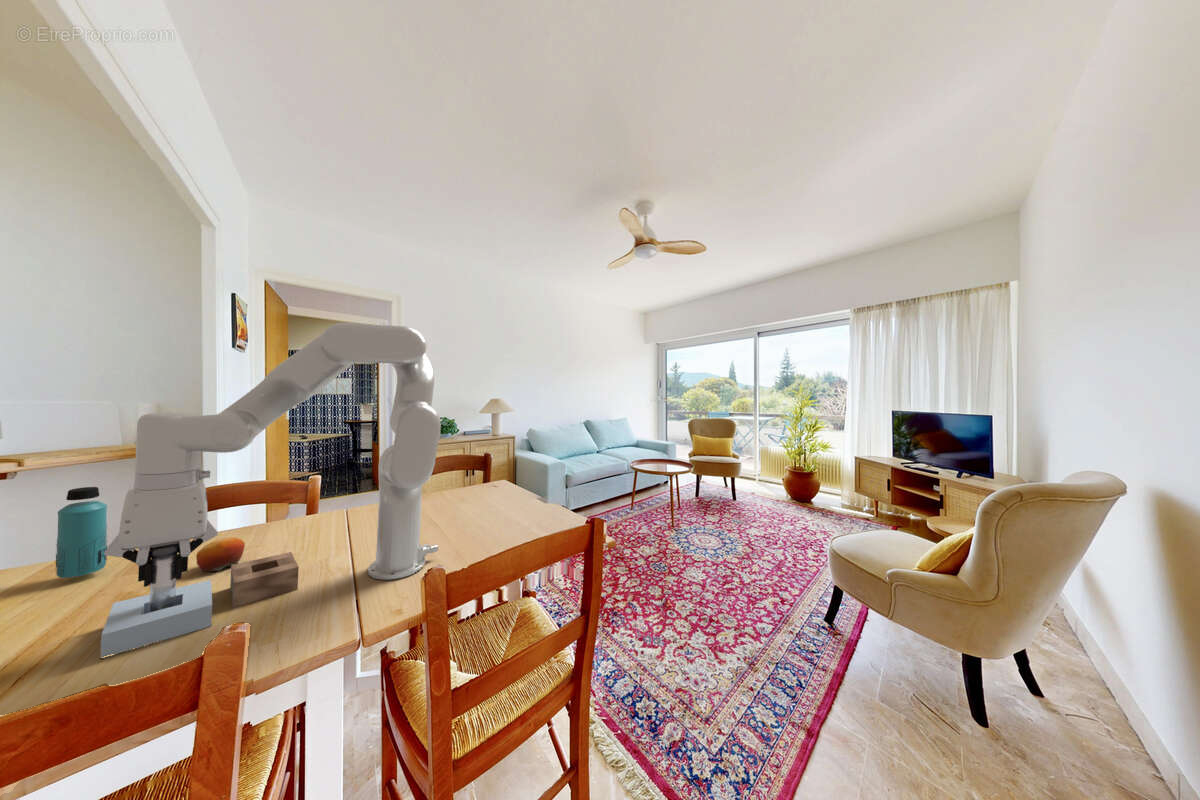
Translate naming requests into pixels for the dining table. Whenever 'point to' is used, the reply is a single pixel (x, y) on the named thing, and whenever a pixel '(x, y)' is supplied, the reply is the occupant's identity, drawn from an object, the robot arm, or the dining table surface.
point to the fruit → (220, 554)
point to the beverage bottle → (81, 534)
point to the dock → (156, 619)
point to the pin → (163, 575)
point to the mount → (263, 578)
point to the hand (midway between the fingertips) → (163, 579)
